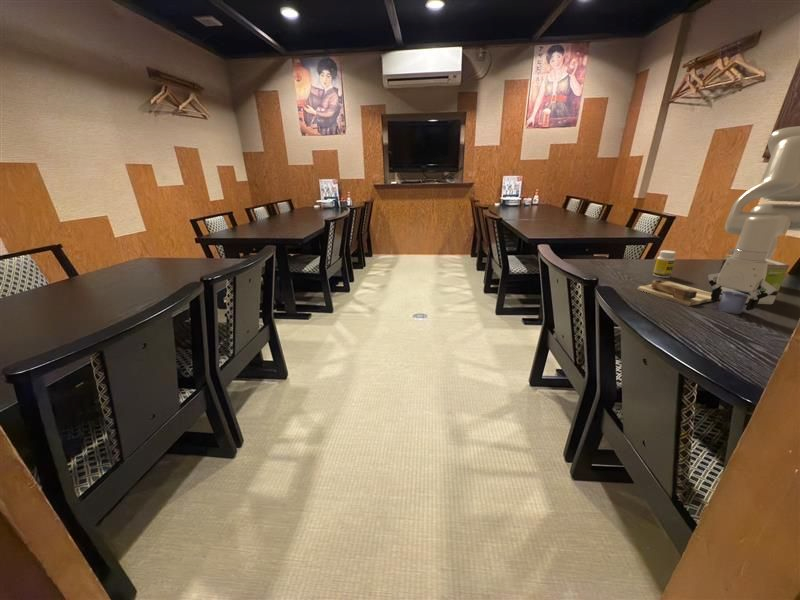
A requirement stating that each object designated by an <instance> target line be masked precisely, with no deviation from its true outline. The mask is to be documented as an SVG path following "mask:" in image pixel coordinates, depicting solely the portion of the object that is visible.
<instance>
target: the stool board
mask: <svg viewBox="0 0 800 600" xmlns="http://www.w3.org/2000/svg"><path fill="white" fill-rule="evenodd" d="M665 282H666V283H669V284H673V285H676V286H680V287H683V288H686V289H690V290H693V291H697V294H696V297H695V298H691V299H688V298H685V295H686V292H687V290H685V289H681V288H676V289H675V292H674V294H672V293H669V292H666V291H663V290H659V289H656V288H652V287H651V285H652V283H651V284H647V285H640V286H637V289H636V290H638V291H640V292H643V291H644V292H643V293H646V292H647V293H646V294H649V293H650V295H653V296H656V297H659V298H662V299H665V300H668V301H673V302H675V303H678V304H681V305H684V306H688V307H691V306H694V305H695V306H696V305H701V304H704V303H708V302H713V301H715V300H713V301H712V300H711V294H712V292H709V291H706V290H702V289H699V288H695V287H692V286H687V285H683V284H681V283H677V282H673V281H670V280H668V281H665ZM721 297H722V294H720V297H719V299H718V300H720V299H721Z"/></svg>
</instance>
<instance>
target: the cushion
mask: <svg viewBox="0 0 800 600" xmlns="http://www.w3.org/2000/svg"><path fill="white" fill-rule="evenodd" d="M721 296H722V297H721V299H719V302H718V305H717V308H718V309H719V310H718V309H717V310H718V311H721V312H723V311H724V312H723V313H727V314H735V315H737V314H738V315H741V314H742V313H743V310H744V308H745V306H746V304H747V303H746V300H747V298H748V295H746V294H744V293H740V292H734V291H724V292H723V294H722V293H721Z"/></svg>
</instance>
